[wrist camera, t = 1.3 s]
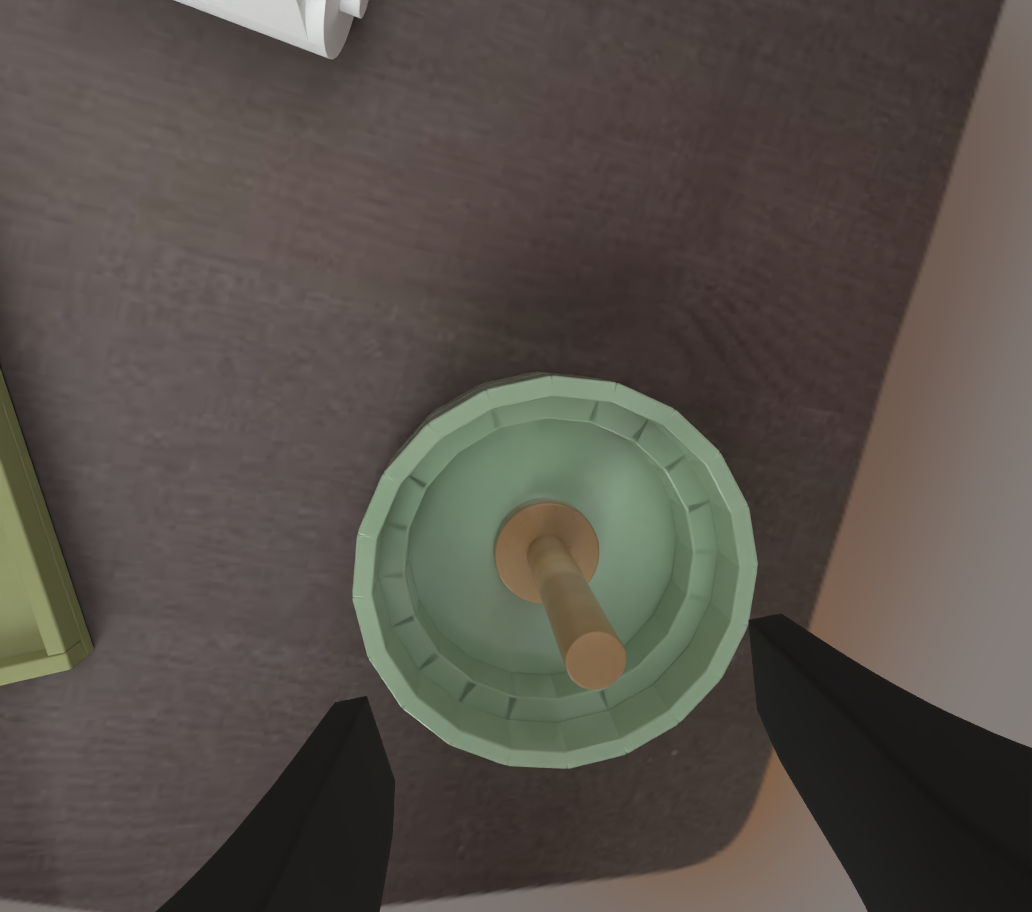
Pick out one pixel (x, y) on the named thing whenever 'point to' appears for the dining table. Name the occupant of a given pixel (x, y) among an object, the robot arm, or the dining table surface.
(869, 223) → the dining table surface
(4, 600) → the serving tray
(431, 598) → the shallow round dish
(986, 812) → the robot arm
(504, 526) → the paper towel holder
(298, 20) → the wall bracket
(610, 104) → the dining table surface
